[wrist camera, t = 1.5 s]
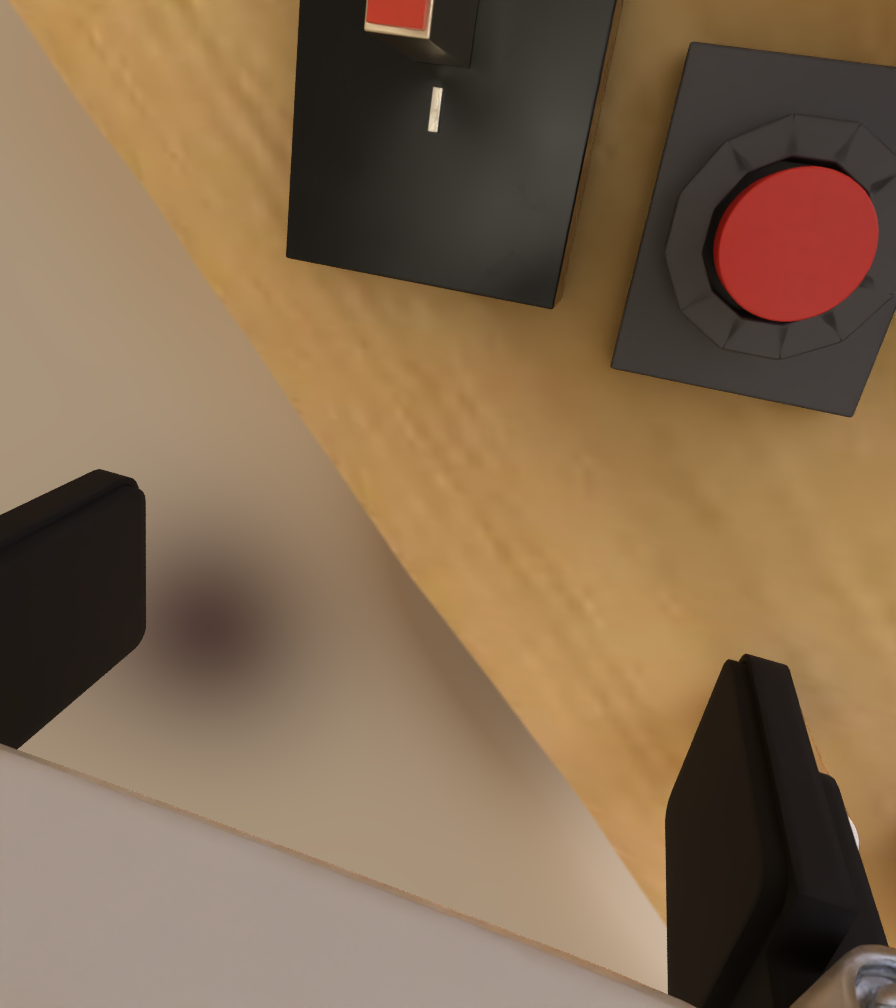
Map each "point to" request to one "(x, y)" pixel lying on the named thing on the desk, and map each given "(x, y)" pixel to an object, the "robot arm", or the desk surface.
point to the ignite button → (796, 243)
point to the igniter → (709, 191)
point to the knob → (425, 28)
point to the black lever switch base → (449, 147)
